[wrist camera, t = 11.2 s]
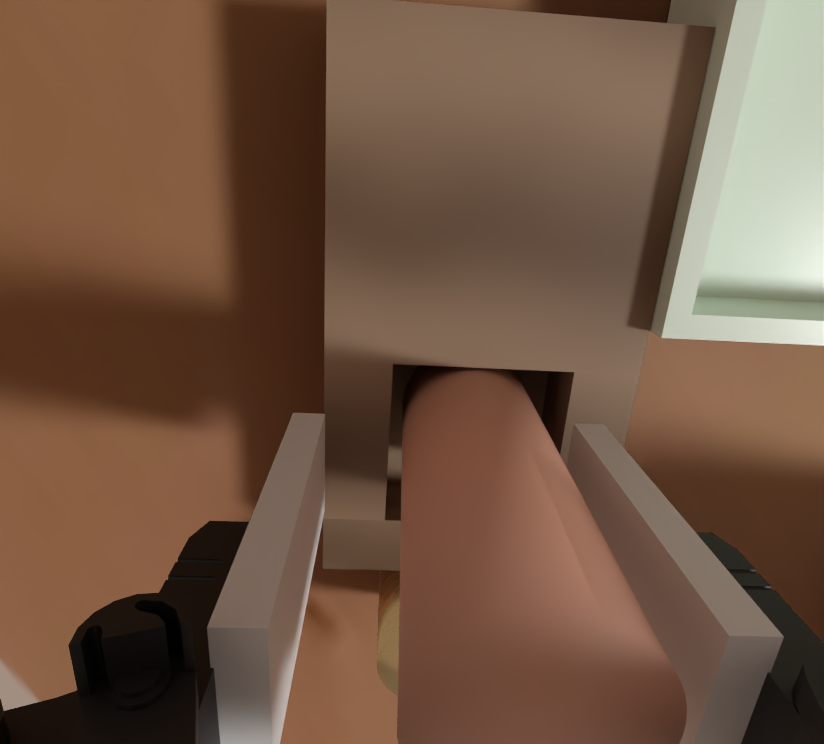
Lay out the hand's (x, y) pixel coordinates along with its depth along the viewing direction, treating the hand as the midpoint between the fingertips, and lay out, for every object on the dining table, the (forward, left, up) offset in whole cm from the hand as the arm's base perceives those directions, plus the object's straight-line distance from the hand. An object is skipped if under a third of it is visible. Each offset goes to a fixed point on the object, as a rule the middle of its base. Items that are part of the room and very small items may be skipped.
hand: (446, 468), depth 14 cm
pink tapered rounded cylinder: (-1, +1, -3) cm, 3 cm away
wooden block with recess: (-3, +1, -4) cm, 5 cm away
